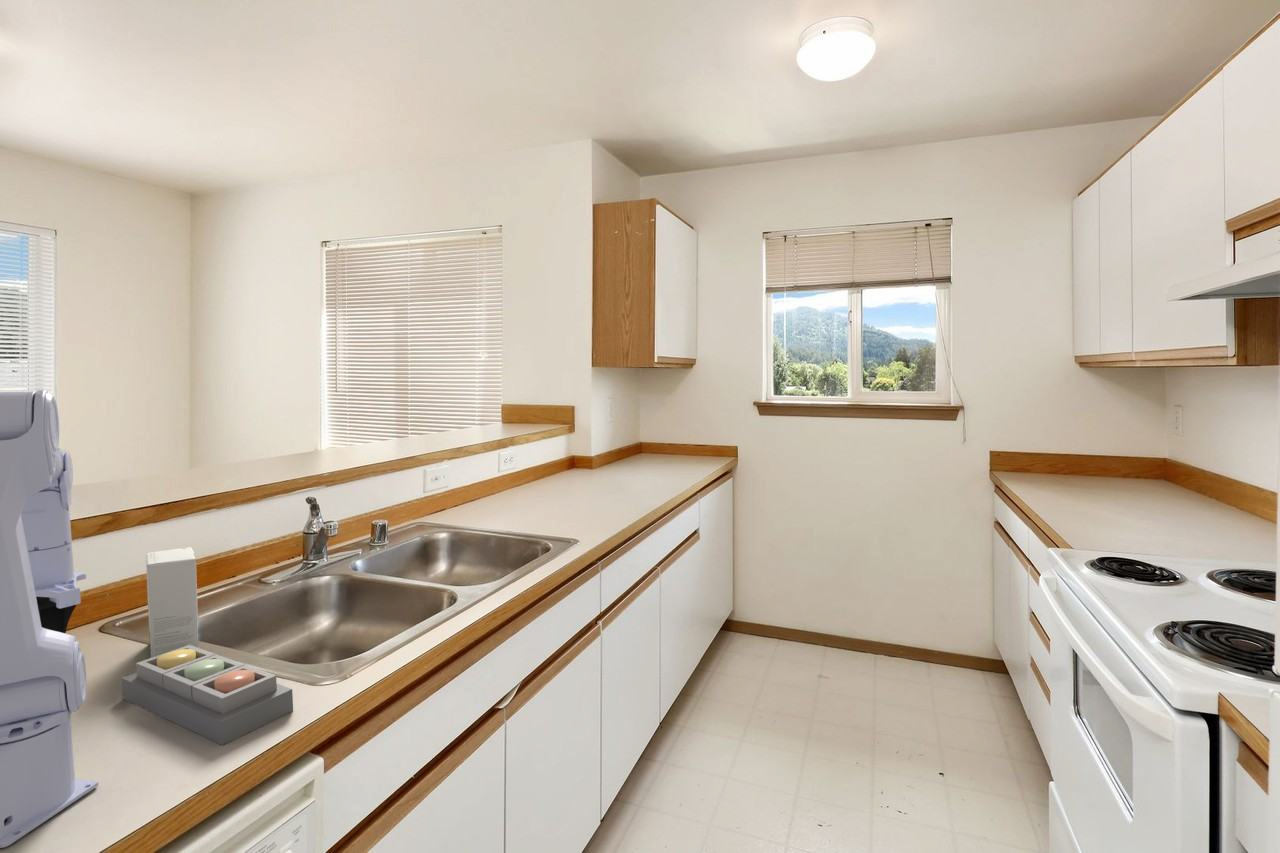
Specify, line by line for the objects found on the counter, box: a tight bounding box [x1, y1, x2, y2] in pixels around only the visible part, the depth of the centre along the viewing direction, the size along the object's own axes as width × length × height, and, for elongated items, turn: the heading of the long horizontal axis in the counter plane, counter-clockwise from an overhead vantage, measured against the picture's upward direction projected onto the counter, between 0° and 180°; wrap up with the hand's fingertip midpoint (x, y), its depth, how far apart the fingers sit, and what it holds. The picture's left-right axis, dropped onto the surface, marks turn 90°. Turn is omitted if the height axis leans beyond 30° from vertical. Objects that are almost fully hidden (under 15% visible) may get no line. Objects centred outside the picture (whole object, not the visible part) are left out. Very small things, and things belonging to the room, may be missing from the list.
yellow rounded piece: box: [157, 649, 196, 670], centre depth 88 cm, size 4×4×2 cm
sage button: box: [184, 659, 224, 681], centre depth 85 cm, size 4×4×2 cm
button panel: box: [121, 645, 294, 746], centre depth 85 cm, size 24×9×5 cm, turn 62°
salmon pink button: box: [214, 670, 255, 694], centre depth 82 cm, size 4×4×2 cm
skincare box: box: [146, 546, 199, 658], centre depth 104 cm, size 8×7×16 cm
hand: (48, 653), depth 78 cm, fingers closed
